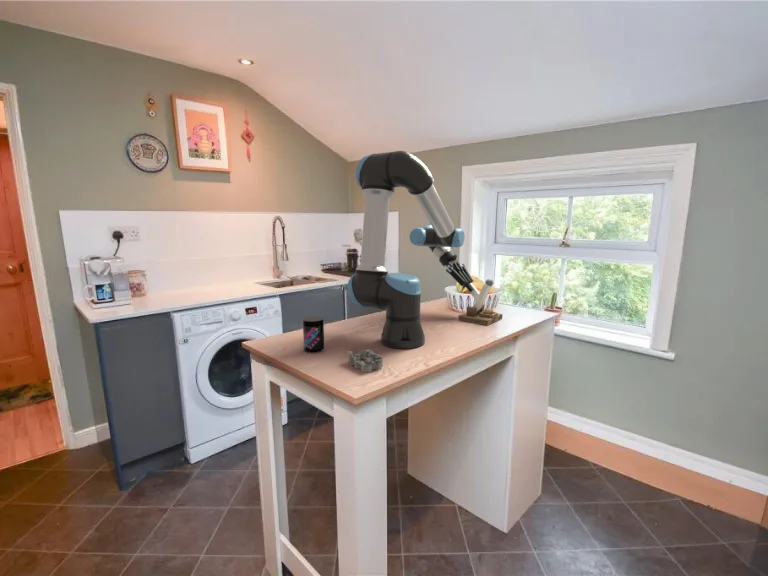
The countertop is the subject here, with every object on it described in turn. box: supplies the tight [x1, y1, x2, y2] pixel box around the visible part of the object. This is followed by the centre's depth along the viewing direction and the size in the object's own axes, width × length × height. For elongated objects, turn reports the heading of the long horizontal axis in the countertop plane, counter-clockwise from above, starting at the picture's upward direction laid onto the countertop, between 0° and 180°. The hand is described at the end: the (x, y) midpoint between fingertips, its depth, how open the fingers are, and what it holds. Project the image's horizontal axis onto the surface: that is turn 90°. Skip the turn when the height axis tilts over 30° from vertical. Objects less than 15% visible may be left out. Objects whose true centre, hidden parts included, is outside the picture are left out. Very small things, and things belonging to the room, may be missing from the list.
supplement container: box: [302, 315, 326, 354], centre depth 121 cm, size 7×7×10 cm
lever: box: [472, 278, 494, 313], centre depth 157 cm, size 5×3×16 cm
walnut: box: [484, 307, 494, 315], centre depth 156 cm, size 4×4×4 cm
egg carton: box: [347, 349, 385, 373], centre depth 109 cm, size 11×8×4 cm
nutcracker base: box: [458, 304, 503, 326], centre depth 159 cm, size 14×13×6 cm
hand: (477, 296), depth 159 cm, fingers closed
